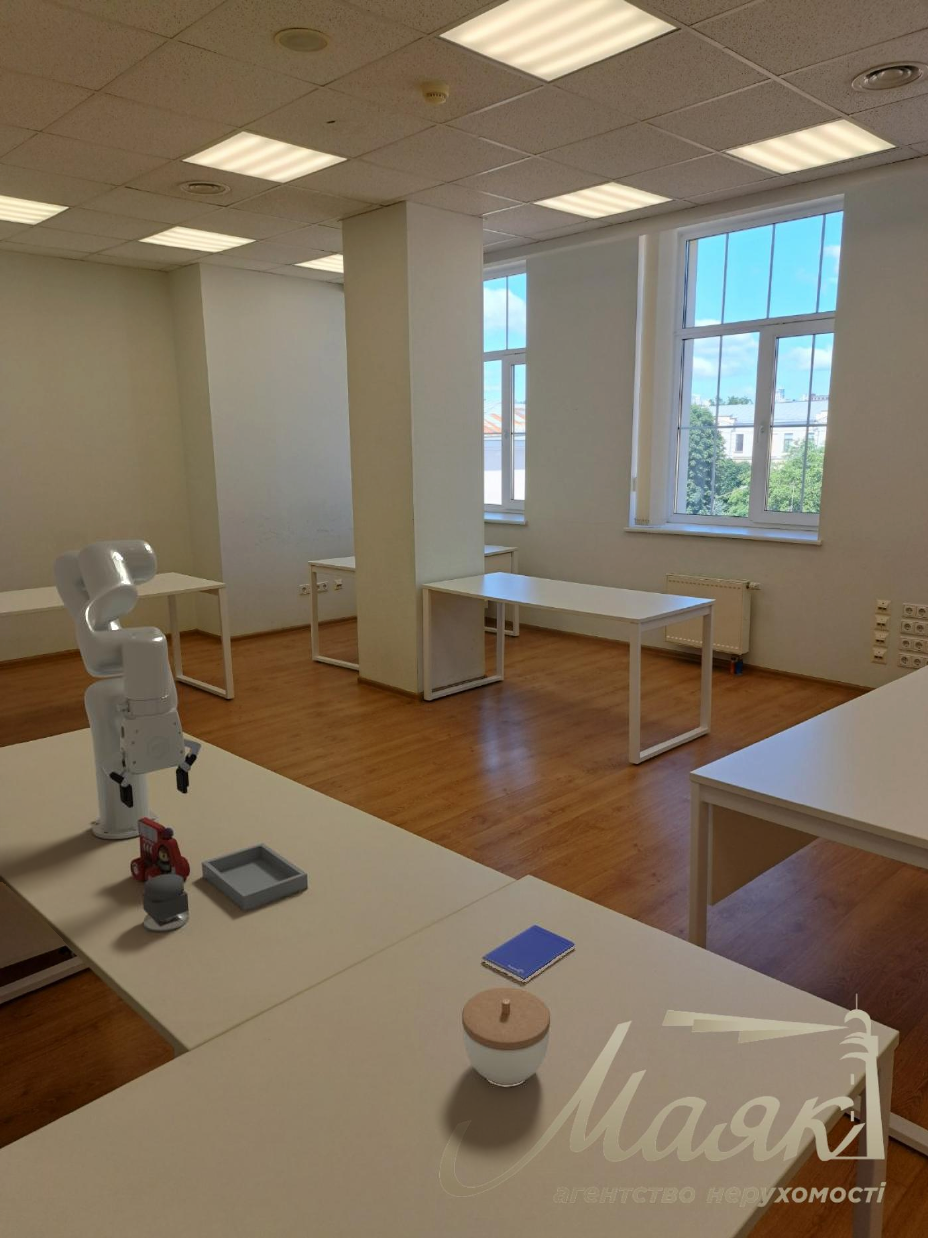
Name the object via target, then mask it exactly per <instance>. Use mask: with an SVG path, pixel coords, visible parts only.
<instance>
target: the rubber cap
mask: <svg viewBox="0 0 928 1238" xmlns="http://www.w3.org/2000/svg"><path fill="white" fill-rule="evenodd" d="M184 884H185V883H184V879H183V878H182V877H181V876H179V875H176V874H164V875H159V876H156V877H153V878H151V879H149V880H148V881H147V882H146V881H145V883H144V891H141V896H142V906H143V907H142V909H143V910H144V911H145V913H146V914H149V915H150V917H151V918H152V919H153V920H154V921H155V922H158V921H161V920H164V919H166V918H169V917H172V916H175V915H178V914H181V913H183V912H186V911H189V899H188V898H189V897H188V896H189V895H188V893H187V891H185V888H184V887H185V885H184Z"/></svg>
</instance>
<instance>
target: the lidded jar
mask: <svg viewBox="0 0 928 1238" xmlns="http://www.w3.org/2000/svg"><path fill="white" fill-rule="evenodd" d="M461 1019H462V1020H461V1021H462V1022H461V1024H462V1028H463V1029H462V1030H463V1031H462V1033H463V1035H462V1036H463V1043H464V1046H465V1051H466V1055H467V1057H468V1059H469V1062H470V1064H471V1066H472V1067H473V1068H474V1070H475V1071H476V1072H477V1073H478V1074H480V1076H482V1077H483V1078H484V1079H485V1078H486V1079H488V1080H490V1081H492V1082H493V1083H496V1084H500V1085H513V1084H517V1083H520V1082H522V1081H524V1080H526V1079H527V1080H528V1079H529V1078H531V1077H532V1076H533V1075H535V1073H536V1072H537V1071H538V1070H539V1068H540V1067H541V1065H542V1063H543V1062H544V1059H545V1057H546V1053H547V1050H548V1045H549V1037H550V1035H549V1034H550V1027H551V1026H550V1025H551V1014H550V1010H549V1008H548V1006H547V1005H546V1004H545V1002H544V1001H543V1000H542V999H540V998H539V997H538V996H537V995H536V994H533V993H531V992H529V991H526V990H523V989H519V988H514V987H513V988H512V987H497V988H491V989H486V990H483V991H481V992H478V993H476V994H475V995H473V996H472V997H471V998H469V999H468V1001H467V1002H466V1003H465V1005H463V1008H462V1013H461ZM527 1080H526V1081H527Z"/></svg>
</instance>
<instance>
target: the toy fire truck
mask: <svg viewBox="0 0 928 1238" xmlns="http://www.w3.org/2000/svg"><path fill="white" fill-rule="evenodd" d="M138 832H139V835H138V836H139V853H140V855H139V856H140V857H137V858H134V859H132V860H131V861H130V865H129V866H130V872H131V875H132V877H133V879H135V881H136V882H142V881H145V883H146V882H147V881H148V880H149V879H151V878H153V877H156V876H159V875H164V874H176V875H179V876H181V877H182V878H183V880H185V879H186V878H188V877H189V876H190V873H191V867H190V863H189V861H188V859H187V858H186V857H184V856H183V855H182V854H181V850H180V847H179V844H178V841H177V839H176V838H175V837H174V835H175V834H174V830H173V829H172V828H171V827H166V826H164V825H163V824H160V823H159V822H158V823H157V822H155V821H153V820H151V819H149V818H147V817H145V818H142V819H139V820H138Z"/></svg>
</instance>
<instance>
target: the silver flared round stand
mask: <svg viewBox="0 0 928 1238" xmlns="http://www.w3.org/2000/svg"><path fill="white" fill-rule="evenodd" d="M189 920H190V913H189V911H186V912H183V913H181V914H178V915H175V916H172V917H169V918H166V919H164V920H161V921H158V922H155V921H154V920H153V919H152V918H151V917H150V915H149V914H148V913H146V915H145V916H144V918H143V926H144V929H146V930H147V931H149V932H152V933H168V932H171V931H175V930H178V929H181V928H182V927H184V926H185V925H186V924H187V923H188V922H189Z"/></svg>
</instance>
